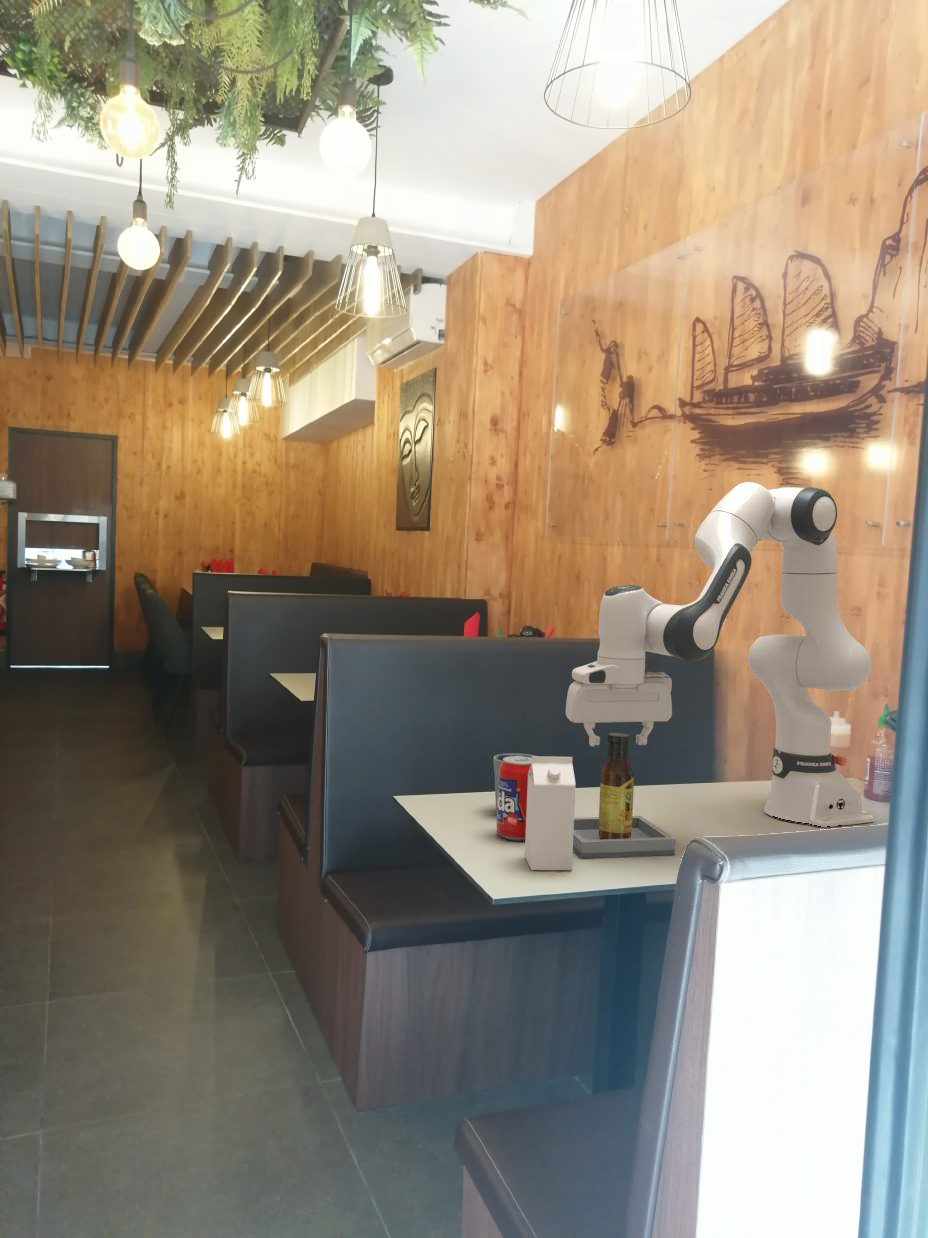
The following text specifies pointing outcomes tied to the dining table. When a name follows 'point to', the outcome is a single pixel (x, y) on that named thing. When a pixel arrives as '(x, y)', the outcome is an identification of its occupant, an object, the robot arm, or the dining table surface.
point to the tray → (621, 840)
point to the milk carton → (550, 813)
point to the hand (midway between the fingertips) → (617, 745)
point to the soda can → (513, 797)
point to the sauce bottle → (616, 790)
